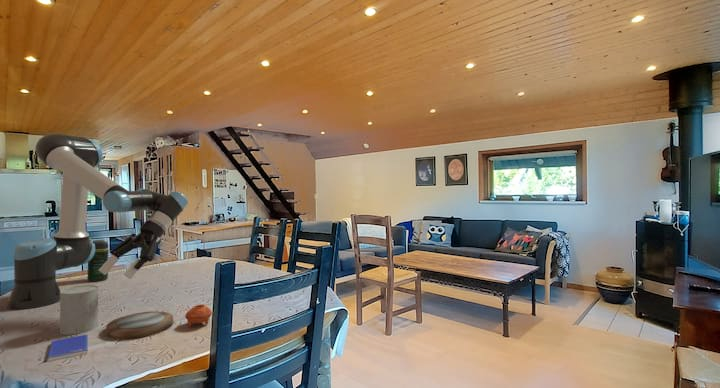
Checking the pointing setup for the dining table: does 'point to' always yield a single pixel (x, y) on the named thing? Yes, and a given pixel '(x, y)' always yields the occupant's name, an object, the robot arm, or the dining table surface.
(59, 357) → the blue flat block
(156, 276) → the dining table surface
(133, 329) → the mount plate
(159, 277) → the dining table surface
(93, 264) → the coffee jar
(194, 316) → the pot
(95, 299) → the grey cylinder
